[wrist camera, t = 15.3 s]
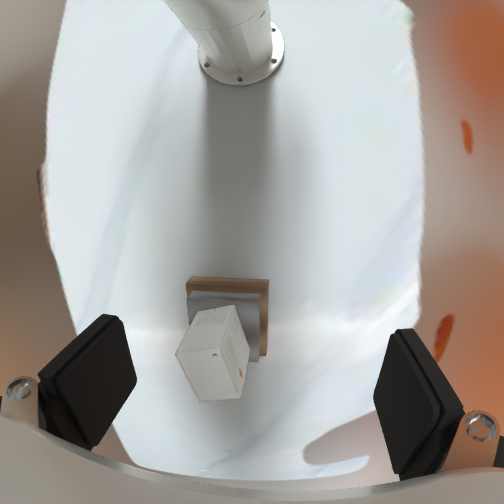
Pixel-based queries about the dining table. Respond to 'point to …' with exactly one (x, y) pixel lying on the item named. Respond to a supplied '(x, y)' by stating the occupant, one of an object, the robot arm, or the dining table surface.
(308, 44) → the dining table surface
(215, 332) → the small box
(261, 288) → the tower base
